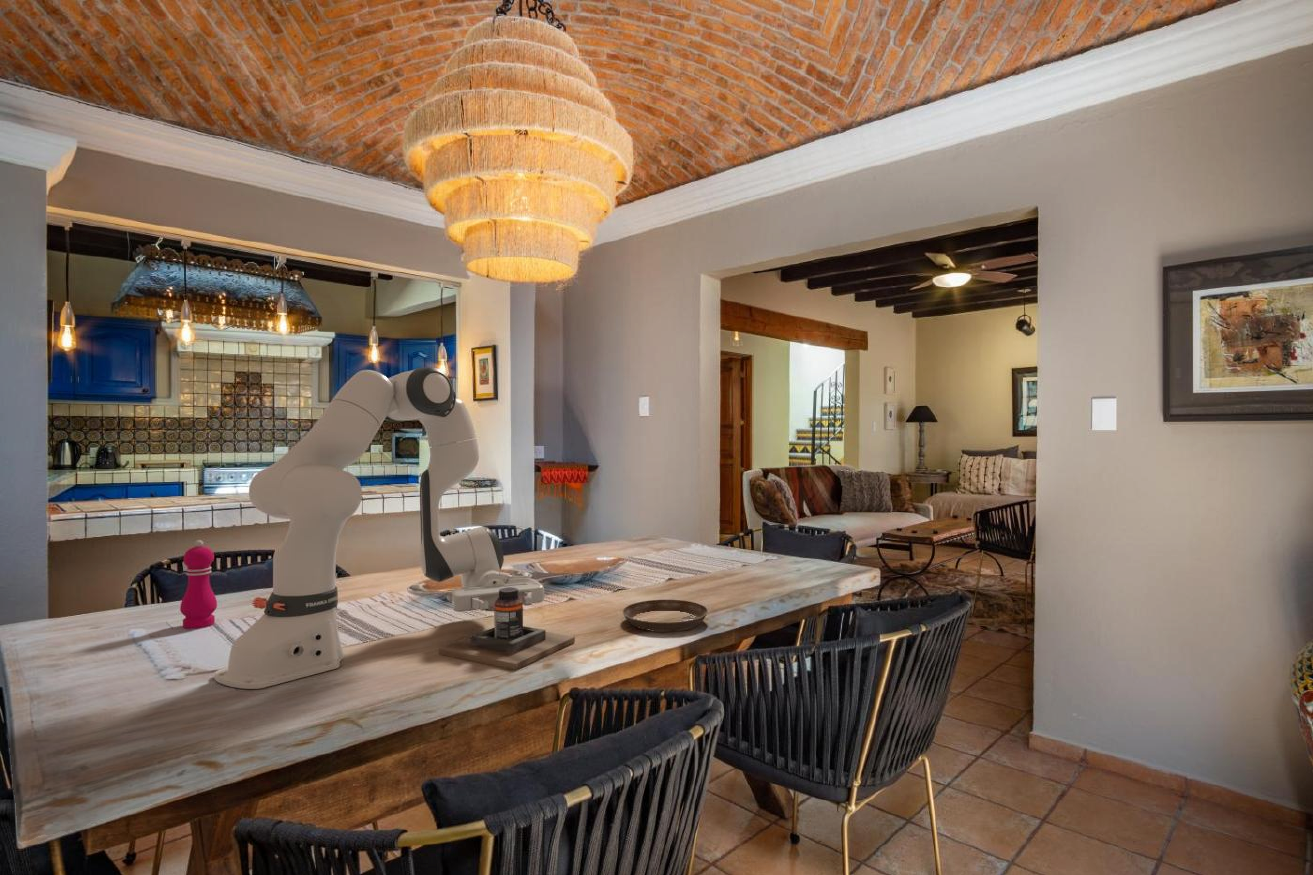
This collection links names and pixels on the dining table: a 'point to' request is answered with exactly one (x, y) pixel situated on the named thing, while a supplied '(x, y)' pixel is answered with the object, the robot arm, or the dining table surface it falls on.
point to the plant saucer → (666, 605)
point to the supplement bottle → (508, 614)
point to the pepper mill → (198, 588)
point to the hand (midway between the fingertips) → (507, 604)
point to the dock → (507, 648)
